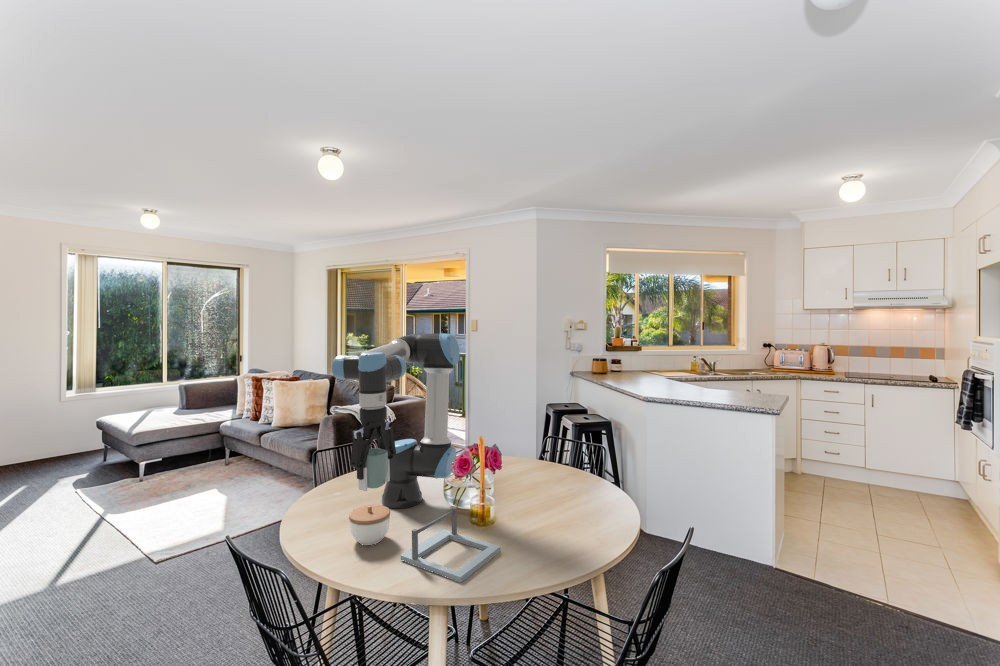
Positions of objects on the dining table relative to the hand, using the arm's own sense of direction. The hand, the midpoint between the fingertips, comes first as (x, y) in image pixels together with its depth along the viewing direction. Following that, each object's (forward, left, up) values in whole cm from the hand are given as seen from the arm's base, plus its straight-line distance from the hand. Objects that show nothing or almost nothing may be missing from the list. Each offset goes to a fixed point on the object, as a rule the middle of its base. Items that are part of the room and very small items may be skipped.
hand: (374, 485), depth 139 cm
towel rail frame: (+16, +15, -23) cm, 32 cm away
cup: (0, 0, -1) cm, 1 cm away
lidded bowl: (-12, +9, -23) cm, 28 cm away
